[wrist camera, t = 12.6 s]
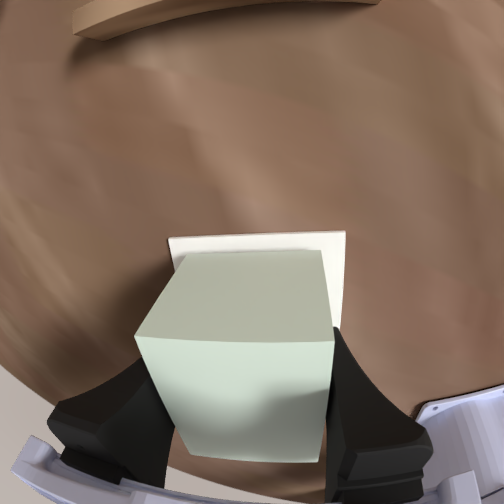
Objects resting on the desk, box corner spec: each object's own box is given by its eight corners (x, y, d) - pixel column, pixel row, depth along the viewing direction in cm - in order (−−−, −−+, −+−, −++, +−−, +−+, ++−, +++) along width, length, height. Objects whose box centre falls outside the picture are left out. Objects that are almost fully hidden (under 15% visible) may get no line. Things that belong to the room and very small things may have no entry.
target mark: (344, 230, 13) (345, 232, 13) (335, 361, 16) (335, 364, 16) (169, 237, 14) (168, 239, 14) (199, 360, 18) (198, 362, 18)
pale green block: (321, 250, 13) (334, 341, 8) (316, 374, 16) (317, 461, 11) (187, 254, 14) (134, 336, 9) (214, 372, 17) (190, 454, 12)
